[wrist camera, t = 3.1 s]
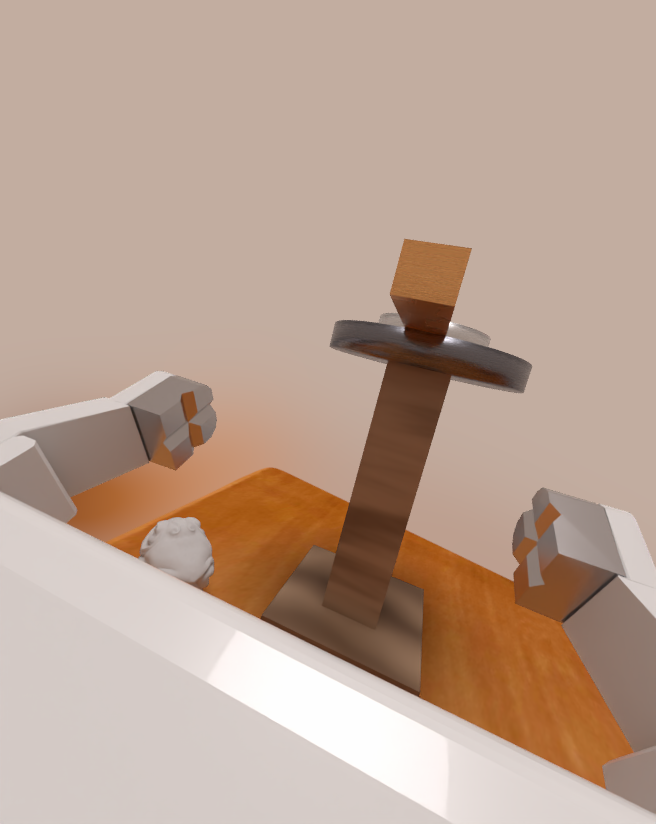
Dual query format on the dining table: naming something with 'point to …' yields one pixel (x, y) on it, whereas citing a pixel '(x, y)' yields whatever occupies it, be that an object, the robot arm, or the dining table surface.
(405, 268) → the cover
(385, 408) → the pedestal
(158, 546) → the frog figurine
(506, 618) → the dining table surface
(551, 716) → the dining table surface
